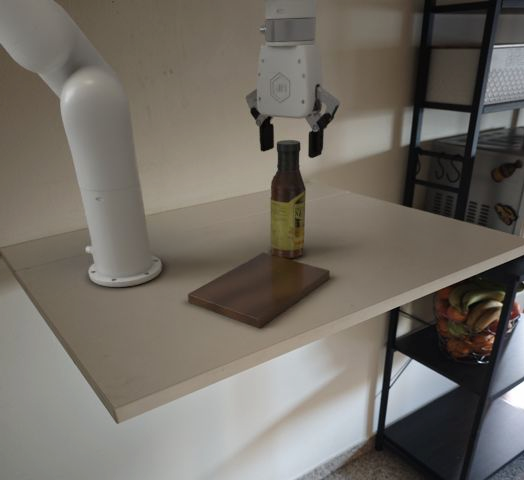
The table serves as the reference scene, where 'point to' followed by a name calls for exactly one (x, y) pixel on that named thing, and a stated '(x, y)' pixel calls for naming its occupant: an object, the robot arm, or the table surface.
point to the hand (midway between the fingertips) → (290, 152)
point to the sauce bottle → (287, 203)
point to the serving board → (259, 289)
